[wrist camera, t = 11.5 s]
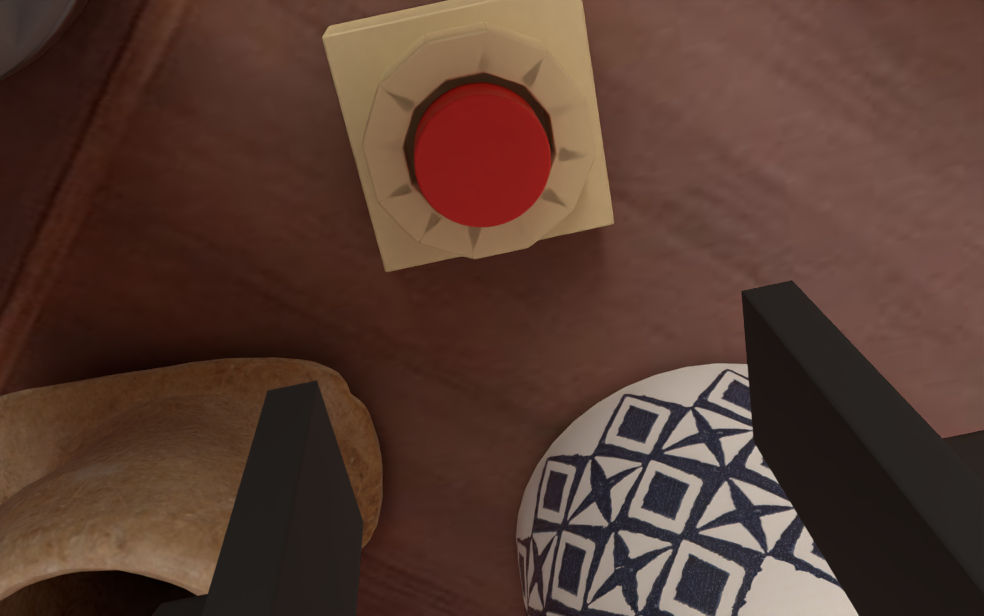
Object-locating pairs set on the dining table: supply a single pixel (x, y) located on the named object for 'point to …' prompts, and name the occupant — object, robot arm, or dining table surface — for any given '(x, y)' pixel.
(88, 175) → the dining table surface
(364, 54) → the button box
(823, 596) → the planter
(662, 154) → the dining table surface
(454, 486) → the dining table surface
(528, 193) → the red button
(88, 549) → the stone cup
